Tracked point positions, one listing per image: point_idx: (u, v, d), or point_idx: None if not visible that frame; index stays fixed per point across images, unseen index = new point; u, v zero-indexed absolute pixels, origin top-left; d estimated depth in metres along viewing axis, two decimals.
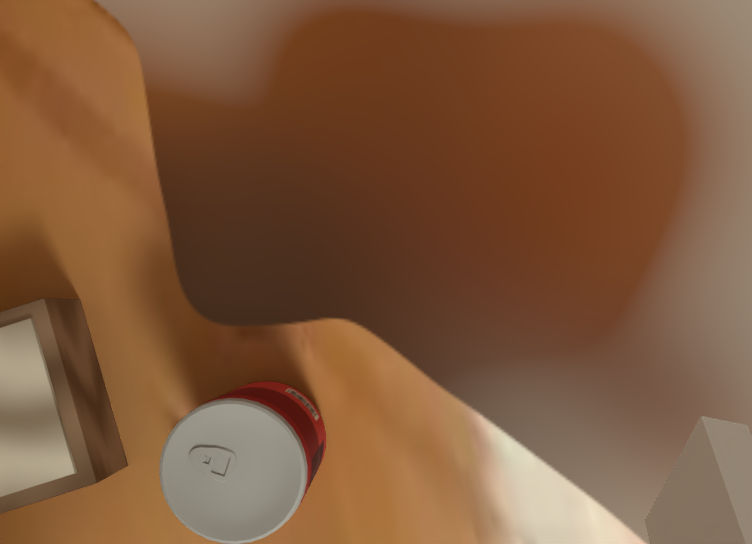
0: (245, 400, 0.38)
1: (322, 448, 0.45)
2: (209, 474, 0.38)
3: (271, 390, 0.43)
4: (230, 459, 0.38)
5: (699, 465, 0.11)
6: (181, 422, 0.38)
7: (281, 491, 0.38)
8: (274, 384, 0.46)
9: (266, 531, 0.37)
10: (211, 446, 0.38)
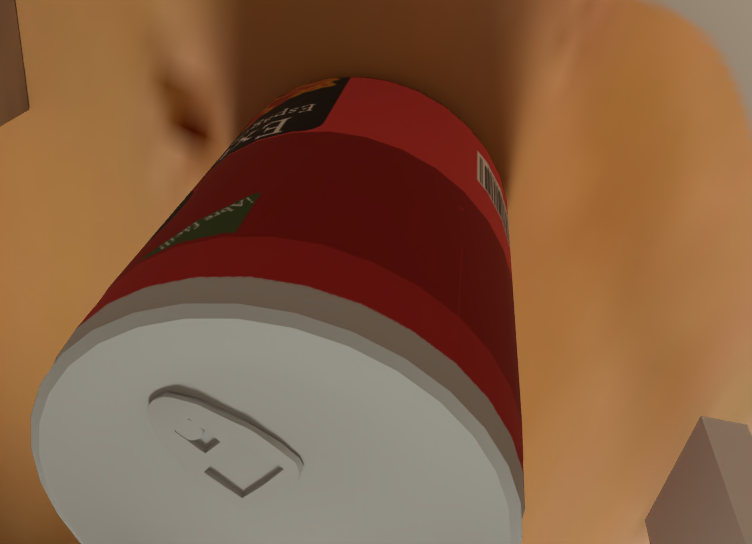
0: (417, 346, 0.09)
1: None
2: (197, 469, 0.11)
3: (456, 193, 0.14)
4: (280, 472, 0.11)
5: (699, 465, 0.11)
6: (147, 320, 0.09)
7: None
8: (450, 131, 0.16)
9: None
10: (232, 416, 0.10)
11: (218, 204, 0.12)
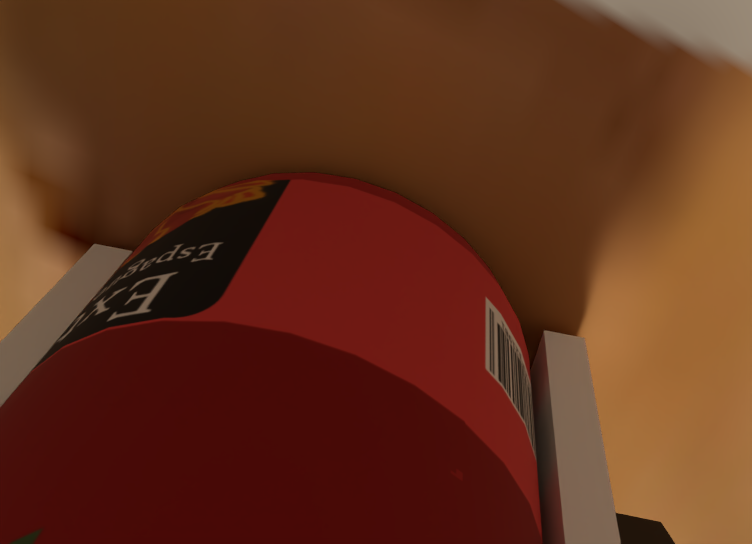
0: None
1: None
2: None
3: (450, 432, 0.08)
4: None
5: (539, 372, 0.13)
6: None
7: None
8: (442, 278, 0.10)
9: None
10: None
11: None
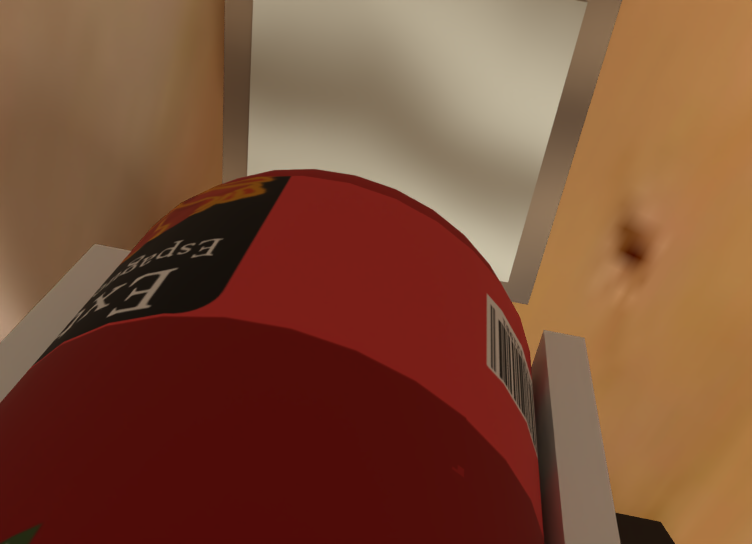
0: None
1: None
2: None
3: (451, 428, 0.08)
4: None
5: (538, 372, 0.13)
6: None
7: None
8: (443, 274, 0.10)
9: None
10: None
11: None
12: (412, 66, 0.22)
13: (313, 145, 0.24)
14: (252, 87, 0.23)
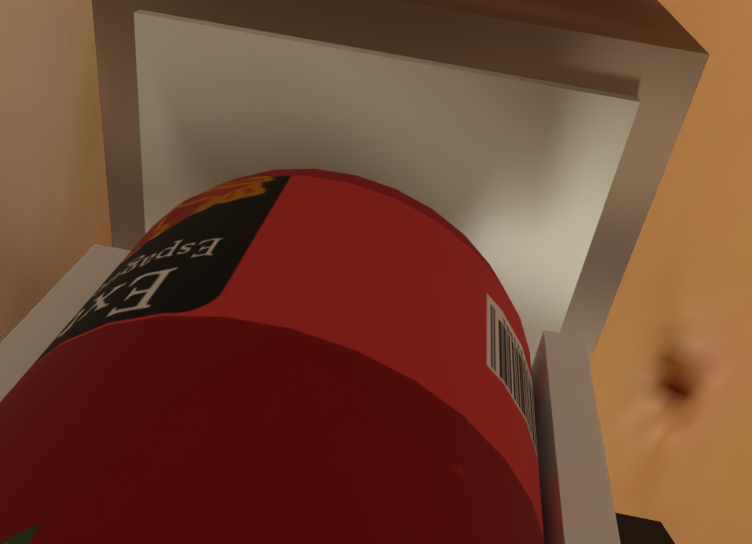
0: None
1: None
2: None
3: (451, 428, 0.08)
4: None
5: (538, 372, 0.13)
6: None
7: None
8: (443, 274, 0.10)
9: None
10: None
11: None
12: None
13: None
14: (147, 207, 0.16)
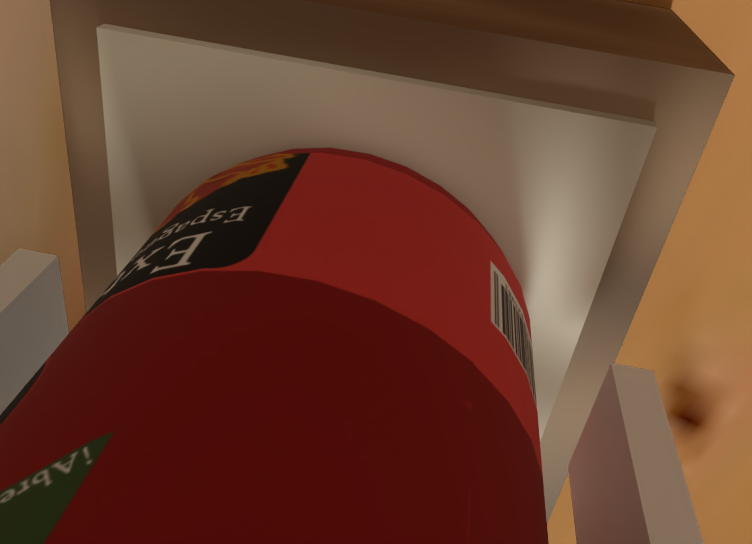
0: None
1: None
2: None
3: (460, 370, 0.09)
4: None
5: (607, 407, 0.12)
6: None
7: None
8: (451, 241, 0.11)
9: None
10: None
11: (37, 455, 0.07)
12: None
13: None
14: (117, 236, 0.15)
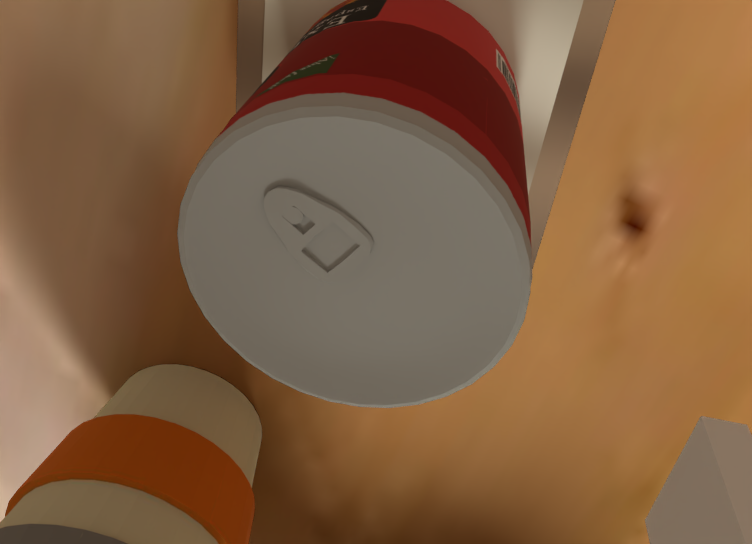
0: (458, 141, 0.14)
1: None
2: (295, 251, 0.15)
3: (481, 68, 0.18)
4: (357, 249, 0.15)
5: (699, 465, 0.11)
6: (274, 120, 0.13)
7: (435, 353, 0.16)
8: (474, 30, 0.20)
9: (368, 401, 0.17)
10: (325, 203, 0.15)
11: (307, 62, 0.16)
12: None
13: None
14: (265, 58, 0.24)
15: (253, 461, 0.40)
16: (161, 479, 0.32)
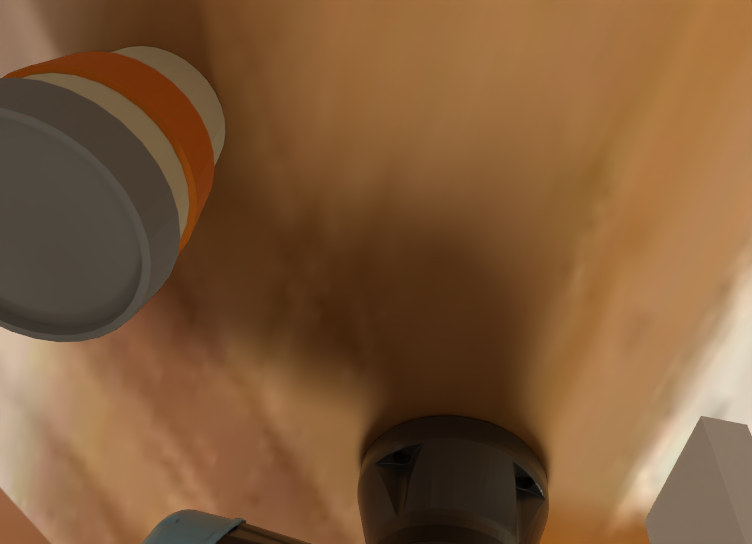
0: None
1: None
2: None
3: None
4: None
5: (699, 465, 0.11)
6: None
7: None
8: None
9: None
10: None
11: None
12: None
13: None
14: None
15: (214, 134, 0.41)
16: (119, 77, 0.34)
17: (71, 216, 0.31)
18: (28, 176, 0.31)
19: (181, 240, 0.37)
